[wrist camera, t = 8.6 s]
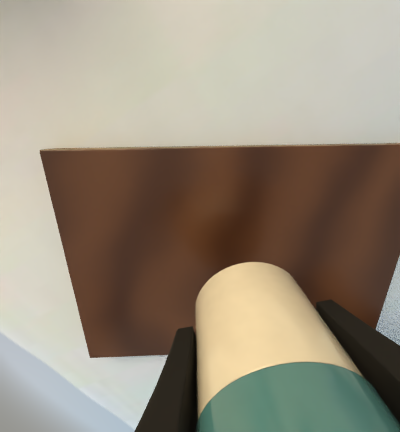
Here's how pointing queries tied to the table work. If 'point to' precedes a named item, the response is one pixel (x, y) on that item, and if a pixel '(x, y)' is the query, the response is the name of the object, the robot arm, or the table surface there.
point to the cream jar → (275, 361)
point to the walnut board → (219, 229)
